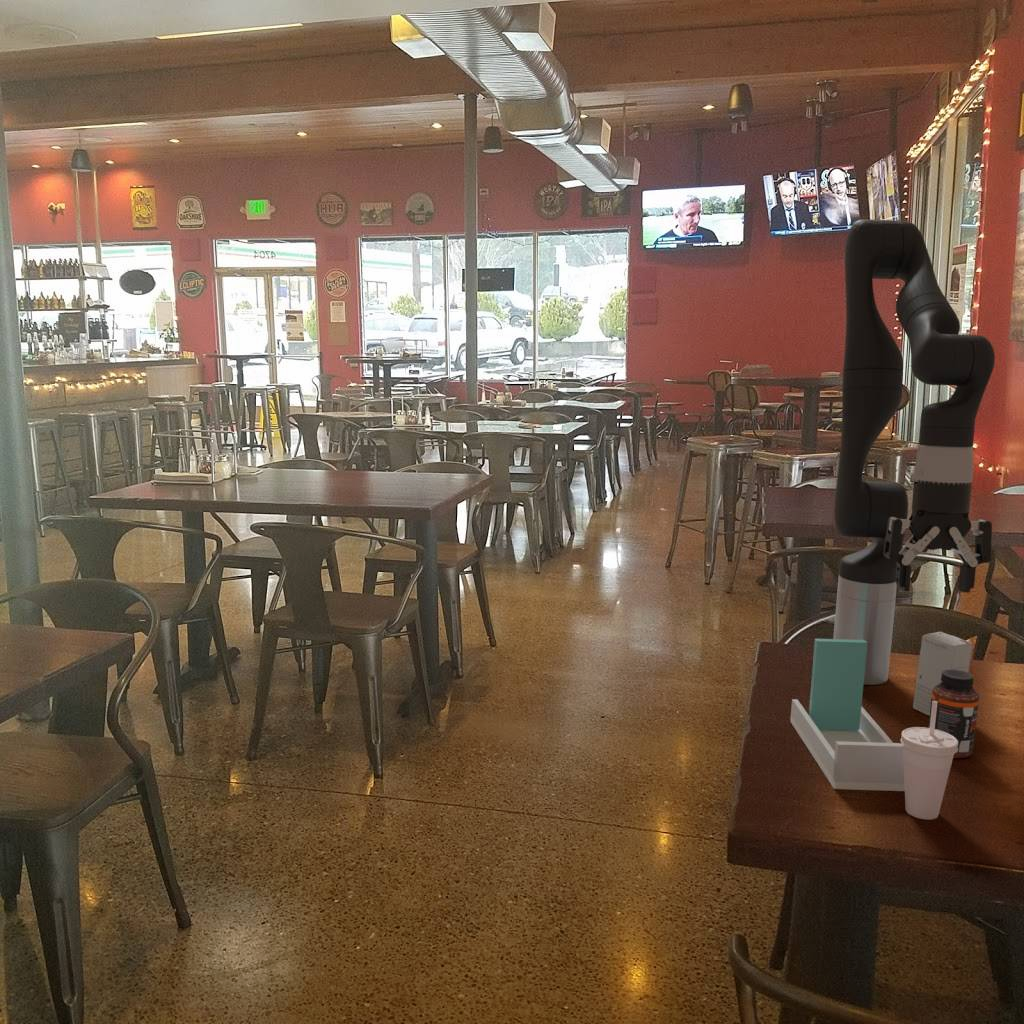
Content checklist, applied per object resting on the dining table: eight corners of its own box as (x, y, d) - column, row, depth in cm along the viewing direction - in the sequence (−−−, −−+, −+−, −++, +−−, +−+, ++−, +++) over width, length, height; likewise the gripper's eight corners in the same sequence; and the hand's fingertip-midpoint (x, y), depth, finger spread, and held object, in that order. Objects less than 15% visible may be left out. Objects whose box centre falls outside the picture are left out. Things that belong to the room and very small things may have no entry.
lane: (790, 721, 148) (793, 683, 147) (855, 723, 148) (858, 685, 147) (834, 788, 126) (838, 744, 125) (910, 791, 126) (914, 746, 125)
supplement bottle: (977, 762, 135) (986, 683, 133) (931, 757, 136) (939, 679, 134) (966, 744, 141) (975, 668, 139) (922, 740, 142) (930, 664, 140)
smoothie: (958, 812, 121) (970, 702, 118) (939, 830, 116) (952, 717, 114) (905, 794, 125) (915, 689, 123) (885, 812, 120) (896, 702, 118)
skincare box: (911, 709, 154) (918, 634, 152) (931, 704, 156) (939, 630, 154) (944, 723, 149) (953, 645, 146) (965, 718, 151) (973, 641, 149)
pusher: (807, 725, 143) (814, 638, 141) (856, 726, 143) (864, 639, 141) (810, 728, 142) (817, 641, 140) (859, 729, 142) (867, 642, 140)
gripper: (981, 476, 144) (972, 587, 146) (882, 474, 144) (874, 584, 146) (1006, 482, 136) (996, 598, 138) (901, 479, 136) (893, 595, 139)
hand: (933, 590), depth 142 cm, fingers open, 8 cm apart
